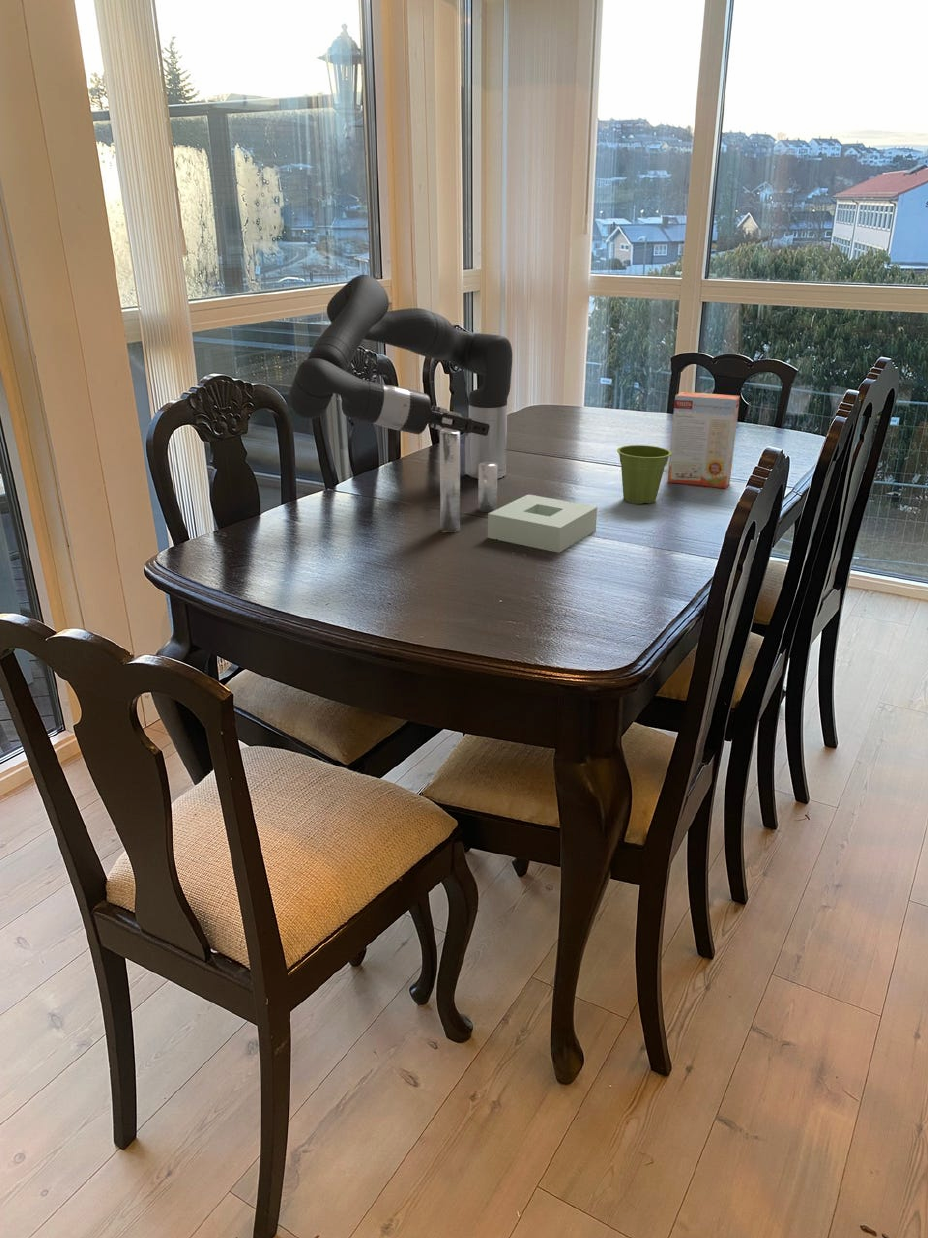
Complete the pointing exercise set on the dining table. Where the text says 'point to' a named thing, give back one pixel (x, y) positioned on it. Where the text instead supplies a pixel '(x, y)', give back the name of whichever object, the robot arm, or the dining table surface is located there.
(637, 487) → the plant pot
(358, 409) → the robot arm
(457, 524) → the long steel pin
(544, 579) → the dining table surface
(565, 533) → the hole block
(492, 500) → the short steel pin
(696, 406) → the cracker box
